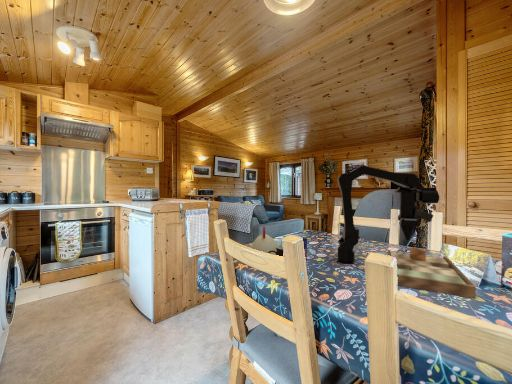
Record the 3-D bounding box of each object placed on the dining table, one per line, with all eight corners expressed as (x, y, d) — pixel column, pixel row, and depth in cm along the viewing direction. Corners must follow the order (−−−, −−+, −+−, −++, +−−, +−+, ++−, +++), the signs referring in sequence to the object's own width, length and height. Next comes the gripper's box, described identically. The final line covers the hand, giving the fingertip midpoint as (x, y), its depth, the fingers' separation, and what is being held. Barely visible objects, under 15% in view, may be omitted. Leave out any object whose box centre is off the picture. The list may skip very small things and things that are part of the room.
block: (411, 259, 99) (411, 250, 99) (409, 256, 104) (409, 247, 104) (425, 261, 97) (425, 251, 97) (423, 258, 101) (423, 248, 101)
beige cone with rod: (277, 255, 115) (277, 225, 115) (280, 264, 101) (280, 230, 101) (249, 255, 115) (249, 225, 115) (248, 264, 102) (248, 230, 101)
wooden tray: (390, 284, 80) (390, 274, 80) (387, 257, 111) (387, 250, 111) (475, 298, 70) (475, 286, 69) (446, 264, 100) (446, 256, 100)
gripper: (436, 205, 86) (436, 247, 86) (427, 202, 103) (427, 237, 103) (401, 204, 91) (400, 244, 92) (397, 201, 108) (397, 235, 108)
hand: (407, 240), depth 98 cm, fingers closed
